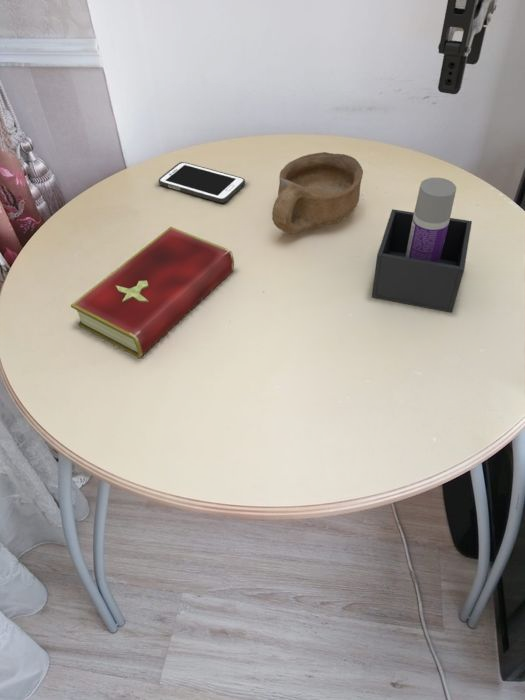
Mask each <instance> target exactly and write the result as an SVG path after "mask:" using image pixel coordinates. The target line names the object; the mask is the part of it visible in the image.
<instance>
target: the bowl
mask: <svg viewBox="0 0 525 700" xmlns="http://www.w3.org/2000/svg"><path fill="white" fill-rule="evenodd" d="M363 175H364V170H363V167H362V165H361V164H360V162H359V161H358V160H357V159H356V158H355V157H353V156H351V155H348V154H344V153H330V152H327V151H323V152H316V153H311V154H306V155H302V156H300V157H298V158H296V159H293V160H291V161H289V162H287V164H285V166H283V168H282V169H281V170H280V172H279V184H278V191H277V198H276V199H275V201H274V202H273V203H274V204H273V207H272V212H271V215H272V216H271V217H272V222H273V224H274V225H275V227H276V228H278V229H279V230H281V232H284V233H288V234H298V233H301V232H302V231H303V232H304V231H307V230H310V229H312V228H314V229H315V228H320V227H326V226H328V225H332V224H335V223H338V222H339V221H342V220H343V219H345V218H347V217H349V216H350V214H351V213H353V212H354V210H355V209H356V208H357V206H358V203H359V201H360V193H361V184H362V180H363Z"/></svg>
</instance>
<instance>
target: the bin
mask: <svg viewBox="0 0 525 700" xmlns="http://www.w3.org/2000/svg"><path fill="white" fill-rule="evenodd" d="M413 215H414V211H406V210H400V209H394V208H393V209H391V212H390V215H389V218H388V221H387V224H386V227H385V230H384V233H383V236H382V239H381V242H380V245H379V248H378V251H377V255H376V262H375V268H374V276H373V283H372V292H371V298H372V299H379V300H383V301H389V302H394V303H398V304H404V305H409V306H415V307H419V308H420V307H421V308H426V309H432V310H436V311H441V312H447V313H453V310H454V307H455V304H456V301H457V296H458V293H459V289H460V286H461V283H462V279H463V276H464V272H465V268H466V261H467V254H468V248H469V242H470V236H471V234H470V233H471V230H472V224H473V223H472V222H473V221H472V220H468V219H461V218H455V217H454V218H453V217H450V221H449V225H448V229H447V233H446V237H445V241H444V245H443V249H442V253H441V257H440V261H439V263H437V262H431V261H425V260H419V259H414V258H408V257H406V251H407V246H408V241H409V236H410V230H411V225H412V220H413Z"/></svg>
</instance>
